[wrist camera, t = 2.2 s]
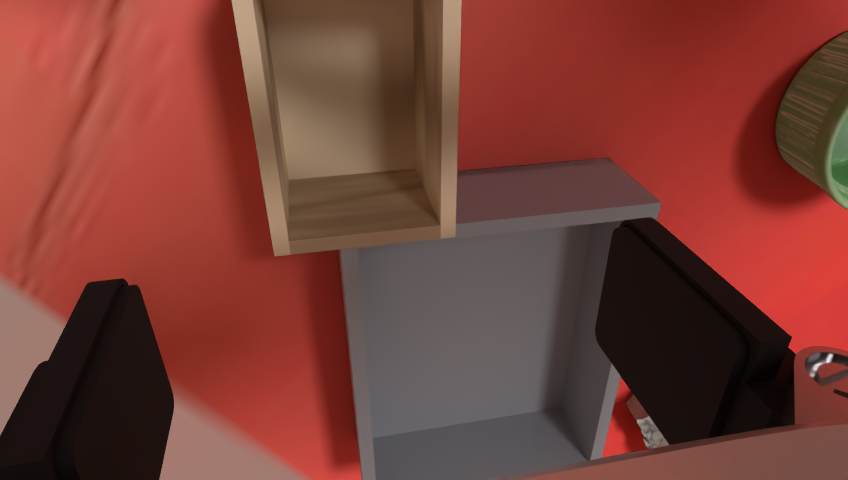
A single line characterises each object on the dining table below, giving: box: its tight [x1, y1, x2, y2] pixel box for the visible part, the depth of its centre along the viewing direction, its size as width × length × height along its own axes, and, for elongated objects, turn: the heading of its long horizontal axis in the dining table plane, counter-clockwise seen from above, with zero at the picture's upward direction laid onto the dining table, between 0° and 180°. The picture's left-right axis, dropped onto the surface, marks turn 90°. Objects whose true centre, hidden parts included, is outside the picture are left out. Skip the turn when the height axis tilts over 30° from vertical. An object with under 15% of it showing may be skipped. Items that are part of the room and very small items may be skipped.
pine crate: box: [232, 0, 462, 257], centre depth 22 cm, size 10×7×6 cm
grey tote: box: [338, 158, 661, 480], centre depth 31 cm, size 18×14×5 cm
